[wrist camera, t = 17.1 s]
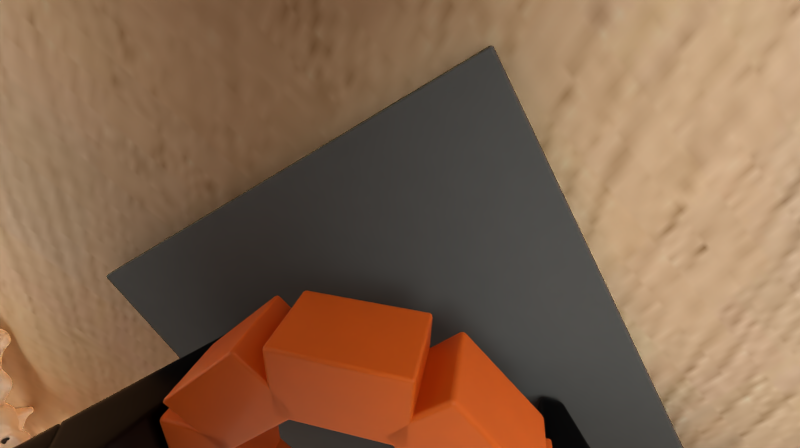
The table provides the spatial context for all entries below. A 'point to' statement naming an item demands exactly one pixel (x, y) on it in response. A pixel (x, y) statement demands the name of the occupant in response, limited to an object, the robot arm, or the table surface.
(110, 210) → the table surface
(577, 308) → the grey mat
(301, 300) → the orange ring
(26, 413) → the anatomical pelvis
